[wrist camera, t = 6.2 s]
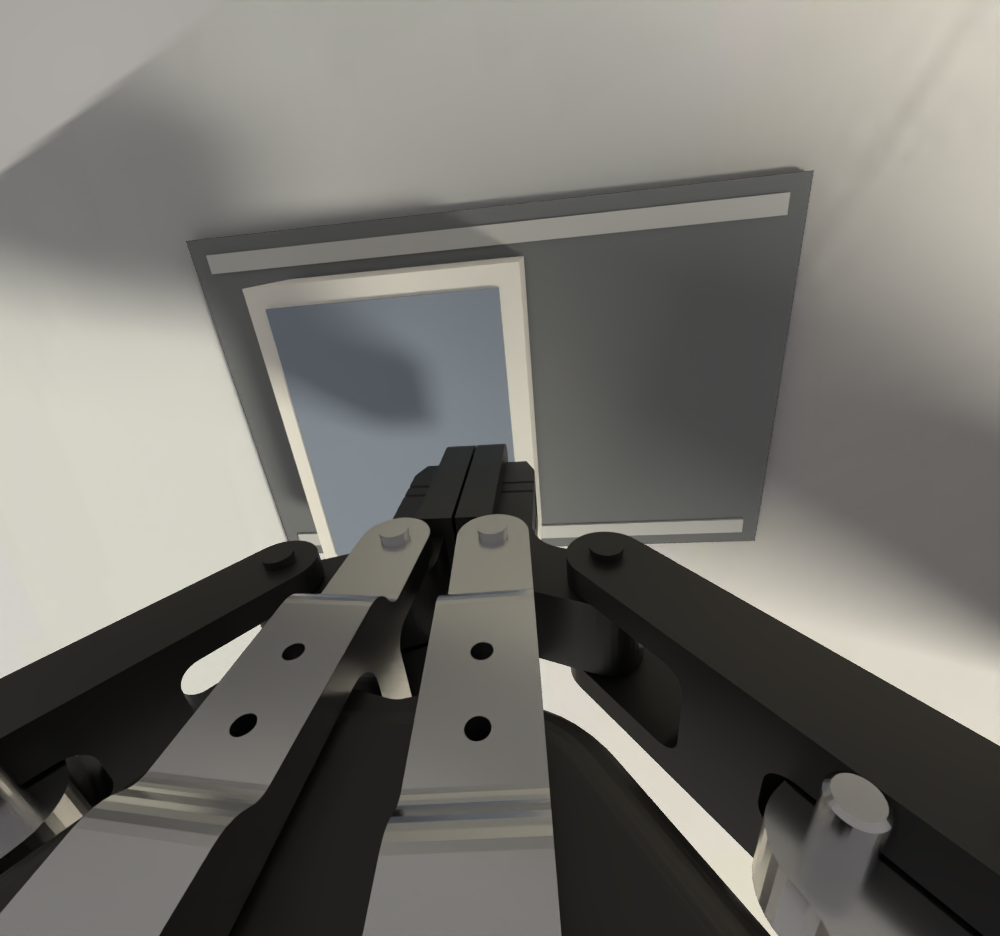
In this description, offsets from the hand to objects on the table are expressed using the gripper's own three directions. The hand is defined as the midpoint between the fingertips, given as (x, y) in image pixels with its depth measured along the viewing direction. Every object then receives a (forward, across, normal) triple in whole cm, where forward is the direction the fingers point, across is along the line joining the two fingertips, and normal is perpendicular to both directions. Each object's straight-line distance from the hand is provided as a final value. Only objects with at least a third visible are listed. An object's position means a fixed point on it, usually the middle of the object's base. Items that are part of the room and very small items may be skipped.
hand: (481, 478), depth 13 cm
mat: (+7, 0, 0) cm, 7 cm away
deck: (+4, +3, 0) cm, 5 cm away
